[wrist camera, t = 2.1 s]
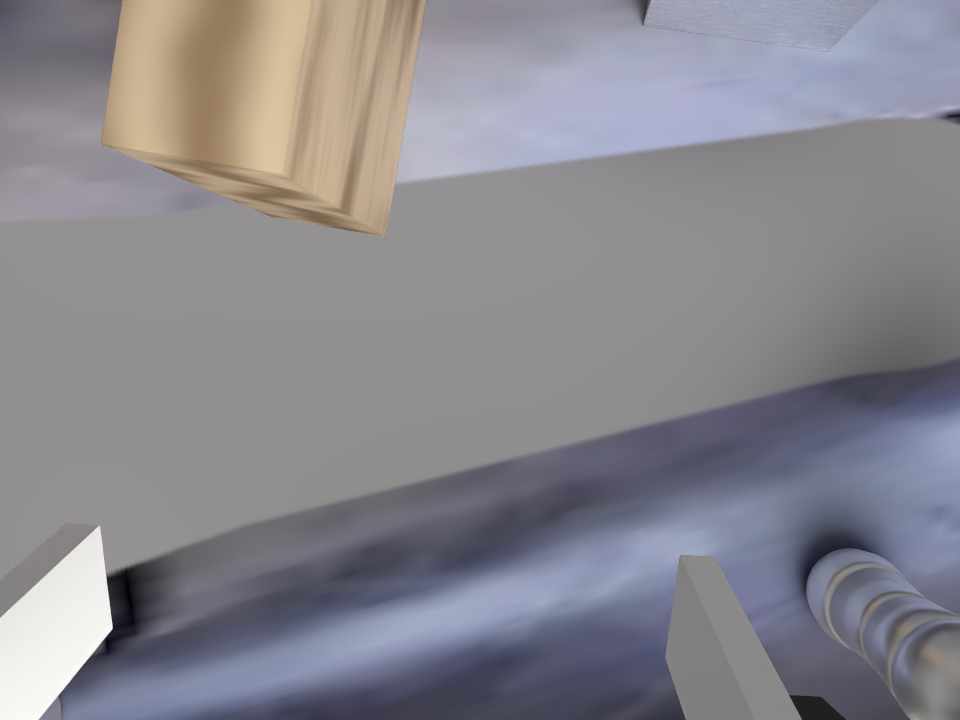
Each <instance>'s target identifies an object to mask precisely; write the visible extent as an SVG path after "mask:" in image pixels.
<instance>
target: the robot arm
mask: <svg viewBox="0 0 960 720" xmlns="http://www.w3.org/2000/svg"><path fill="white" fill-rule="evenodd" d="M112 629H113V628H112V620H111V612H110V604H109V596H108V588H107V580H106V572H105V564H104V556H103V549H102V540H101V532H100V525H86V524H67V523H66V524H65V525H64V526H63V527H61V528H60V529H59V530H58V531H57V532H56V533H54V534H53V535H52V536H51V537H50V538H49V539H47V540H46V541H45V542H44V543H43V544H42V545H40V546H39V547H38V548H37V549H36V550H35V551H33V552H32V553H31V554H30V555H29V556H28V557H26V558H25V559H24V560H23V561H22V562H21V563H19V564H18V565H17V566H16V567H15V568H14V569H12V570H11V571H10V572H9V573H8V574H6V575H5V576H4V577H3V578H2V579H1V580H0V720H39V718H40V717H41V716H42V715H43V714H44V712H45V711H46V710H47V709H48V707H49V706H50V705H51V704H52V702H53V701H54V700H55V699H56V698H57V696H58V695H59V694H60V693H61V691H62V690H63V689H64V688H65V686H66V685H67V684H68V683H69V682H70V680H71V679H72V678H73V677H74V675H75V674H76V673H77V672H78V670H79V669H80V668H81V667H82V666H83V664H84V663H85V662H86V661H87V659H88V658H89V657H90V656H91V654H92V653H93V652H94V651H95V650H96V648H97V647H98V646H99V645H100V643H101V642H102V641H103V640H104V638H105V637H106V636H107V635H108V633H109V632H110V631H111V630H112ZM665 658H666V661H667V664H668V667H669V670H670V673H671V676H672V679H673V682H674V685H675V688H676V691H677V694H678V697H679V700H680V703H681V706H682V709H683V712H684V715H685V718H686V720H846V719H845V718H844V717H842V716H841V715H840V714H839V713H838V712H837V711H836V710H835V709H834V708H833V707H831V706H830V705H829V704H828V703H827V702H826V701H825V700H824V699H823V698H822V697H813V696H794V695H788V693H787V691H786V689H785V687H784V685H783V683H782V682H781V680H780V678H779V676H778V674H777V672H776V670H775V669H774V667H773V665H772V663H771V661H770V659H769V658H768V656H767V654H766V652H765V650H764V648H763V646H762V645H761V643H760V641H759V639H758V637H757V635H756V633H755V632H754V630H753V628H752V626H751V624H750V622H749V620H748V619H747V617H746V615H745V613H744V611H743V609H742V607H741V606H740V604H739V602H738V600H737V598H736V596H735V594H734V593H733V591H732V589H731V587H730V585H729V583H728V581H727V580H726V578H725V576H724V574H723V572H722V570H721V569H720V567H719V565H718V563H717V561H716V559H715V557H712V556H692V555H680V558H679V565H678V572H677V579H676V586H675V593H674V600H673V607H672V614H671V621H670V628H669V635H668V643H667V650H666V657H665Z"/></svg>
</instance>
